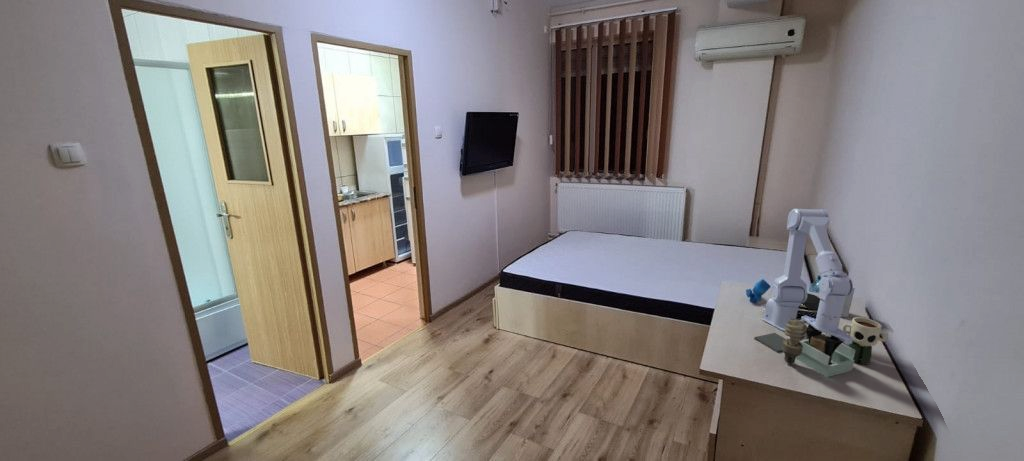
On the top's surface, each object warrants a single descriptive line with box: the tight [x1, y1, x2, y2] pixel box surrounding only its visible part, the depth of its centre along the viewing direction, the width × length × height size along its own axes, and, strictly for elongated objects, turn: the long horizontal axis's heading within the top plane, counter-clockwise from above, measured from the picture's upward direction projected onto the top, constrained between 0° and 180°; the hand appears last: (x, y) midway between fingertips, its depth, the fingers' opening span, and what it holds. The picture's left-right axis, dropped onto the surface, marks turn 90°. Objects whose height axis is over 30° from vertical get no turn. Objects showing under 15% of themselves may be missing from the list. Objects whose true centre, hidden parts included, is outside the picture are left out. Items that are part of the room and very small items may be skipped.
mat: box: [753, 332, 786, 353], centre depth 144 cm, size 9×9×1 cm
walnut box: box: [809, 333, 833, 365], centre depth 133 cm, size 4×5×8 cm
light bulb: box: [782, 318, 808, 365], centre depth 131 cm, size 6×6×15 cm
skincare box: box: [841, 286, 856, 318], centre depth 163 cm, size 6×4×12 cm
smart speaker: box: [801, 292, 820, 311], centre depth 171 cm, size 9×9×4 cm
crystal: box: [745, 278, 772, 304], centre depth 175 cm, size 7×9×12 cm
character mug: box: [841, 316, 889, 365], centre depth 133 cm, size 11×7×13 cm, turn 58°
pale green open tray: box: [795, 338, 855, 378], centre depth 133 cm, size 13×11×6 cm
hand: (820, 353), depth 133 cm, fingers closed on walnut box, 4 cm apart
